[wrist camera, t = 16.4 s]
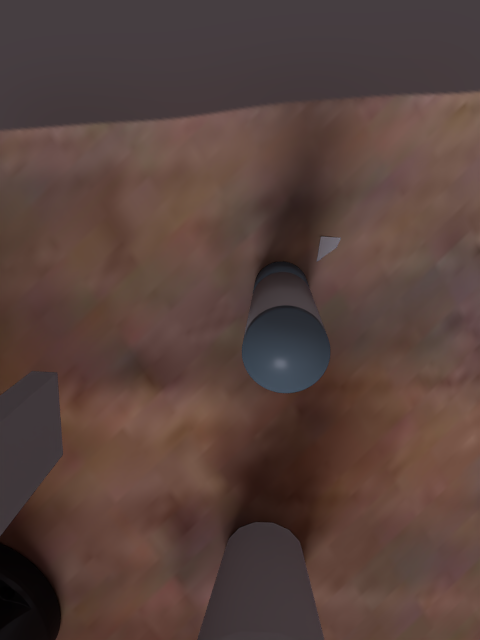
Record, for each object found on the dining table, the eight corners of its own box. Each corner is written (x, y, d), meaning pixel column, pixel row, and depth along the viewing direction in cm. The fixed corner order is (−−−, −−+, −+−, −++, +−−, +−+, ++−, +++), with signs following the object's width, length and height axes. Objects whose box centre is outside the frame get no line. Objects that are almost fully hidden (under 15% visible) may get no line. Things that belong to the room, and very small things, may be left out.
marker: (253, 312, 32) (240, 390, 19) (255, 260, 31) (243, 307, 18) (305, 315, 31) (326, 395, 19) (309, 262, 30) (334, 312, 18)
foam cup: (220, 493, 36) (191, 654, 23) (335, 519, 36) (368, 696, 23) (197, 586, 39) (161, 776, 26) (305, 611, 38) (320, 814, 26)
